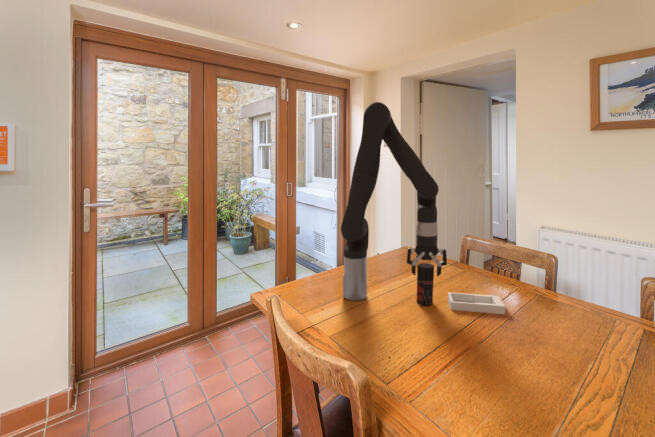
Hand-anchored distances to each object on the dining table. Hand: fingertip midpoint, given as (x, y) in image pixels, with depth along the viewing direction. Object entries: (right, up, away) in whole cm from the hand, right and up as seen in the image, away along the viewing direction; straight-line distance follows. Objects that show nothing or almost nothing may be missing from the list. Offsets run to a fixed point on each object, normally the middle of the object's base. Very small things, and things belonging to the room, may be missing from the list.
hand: (426, 274), depth 120 cm
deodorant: (0, -11, +2) cm, 12 cm away
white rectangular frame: (+18, -11, -2) cm, 21 cm away
